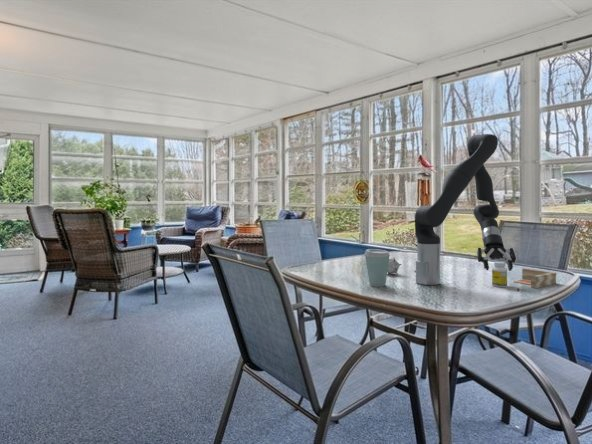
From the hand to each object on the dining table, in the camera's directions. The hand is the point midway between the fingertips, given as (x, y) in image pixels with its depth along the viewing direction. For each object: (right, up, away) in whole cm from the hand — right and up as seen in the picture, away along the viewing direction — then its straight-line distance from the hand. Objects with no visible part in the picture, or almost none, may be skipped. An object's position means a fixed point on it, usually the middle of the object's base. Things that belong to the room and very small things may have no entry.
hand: (499, 269), depth 159 cm
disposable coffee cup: (-49, -7, +4) cm, 50 cm away
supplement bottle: (0, -7, -1) cm, 7 cm away
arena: (+15, -6, +5) cm, 17 cm away
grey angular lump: (-37, -6, +28) cm, 47 cm away
